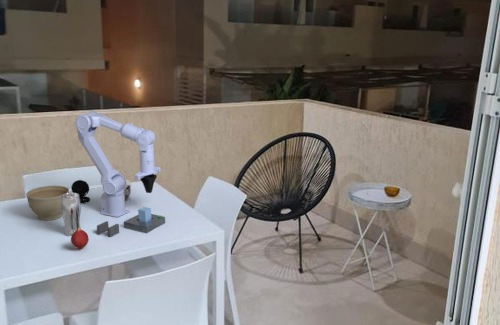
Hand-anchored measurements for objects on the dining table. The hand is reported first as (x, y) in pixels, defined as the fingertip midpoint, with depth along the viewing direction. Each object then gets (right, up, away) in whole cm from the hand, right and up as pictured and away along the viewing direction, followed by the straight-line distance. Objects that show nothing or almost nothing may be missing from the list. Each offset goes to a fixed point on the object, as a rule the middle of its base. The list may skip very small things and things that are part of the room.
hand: (148, 192), depth 195 cm
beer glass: (-25, -15, -16) cm, 33 cm away
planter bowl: (-41, -10, 0) cm, 42 cm away
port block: (0, -13, -7) cm, 15 cm away
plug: (0, -13, -7) cm, 15 cm away
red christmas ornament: (-18, -18, -29) cm, 39 cm away
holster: (-12, -15, -16) cm, 25 cm away
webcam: (-35, -5, +19) cm, 40 cm away
